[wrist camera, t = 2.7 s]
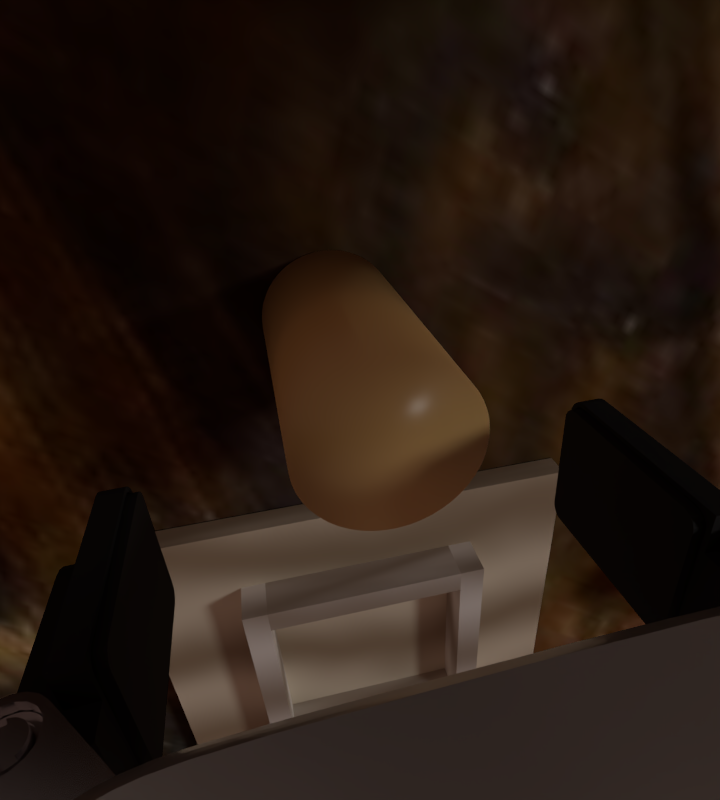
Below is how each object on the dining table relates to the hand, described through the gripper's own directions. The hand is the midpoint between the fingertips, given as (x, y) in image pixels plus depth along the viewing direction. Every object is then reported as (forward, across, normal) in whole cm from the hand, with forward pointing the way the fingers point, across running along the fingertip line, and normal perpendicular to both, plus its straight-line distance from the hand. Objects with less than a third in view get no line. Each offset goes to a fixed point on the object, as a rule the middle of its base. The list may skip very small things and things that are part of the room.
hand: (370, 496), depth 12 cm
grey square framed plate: (+9, -1, +15) cm, 17 cm away
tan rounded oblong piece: (+8, -1, -1) cm, 8 cm away
